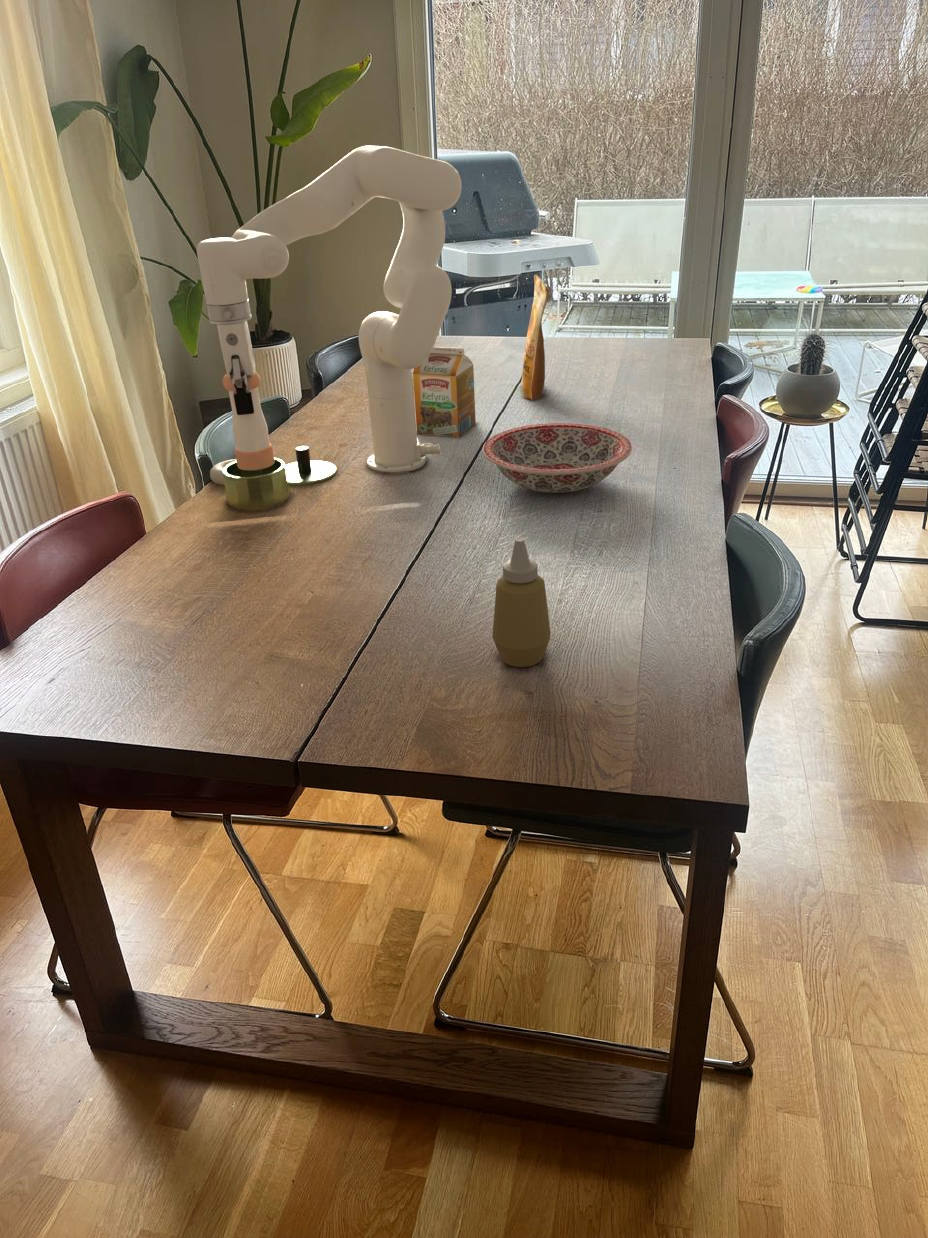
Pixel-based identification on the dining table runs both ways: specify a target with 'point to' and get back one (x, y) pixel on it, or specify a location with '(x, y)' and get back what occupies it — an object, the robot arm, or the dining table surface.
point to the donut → (219, 472)
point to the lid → (308, 469)
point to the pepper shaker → (250, 430)
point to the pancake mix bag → (535, 345)
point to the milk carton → (444, 393)
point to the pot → (255, 486)
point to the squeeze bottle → (521, 611)
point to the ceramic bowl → (557, 455)
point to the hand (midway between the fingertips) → (246, 407)
